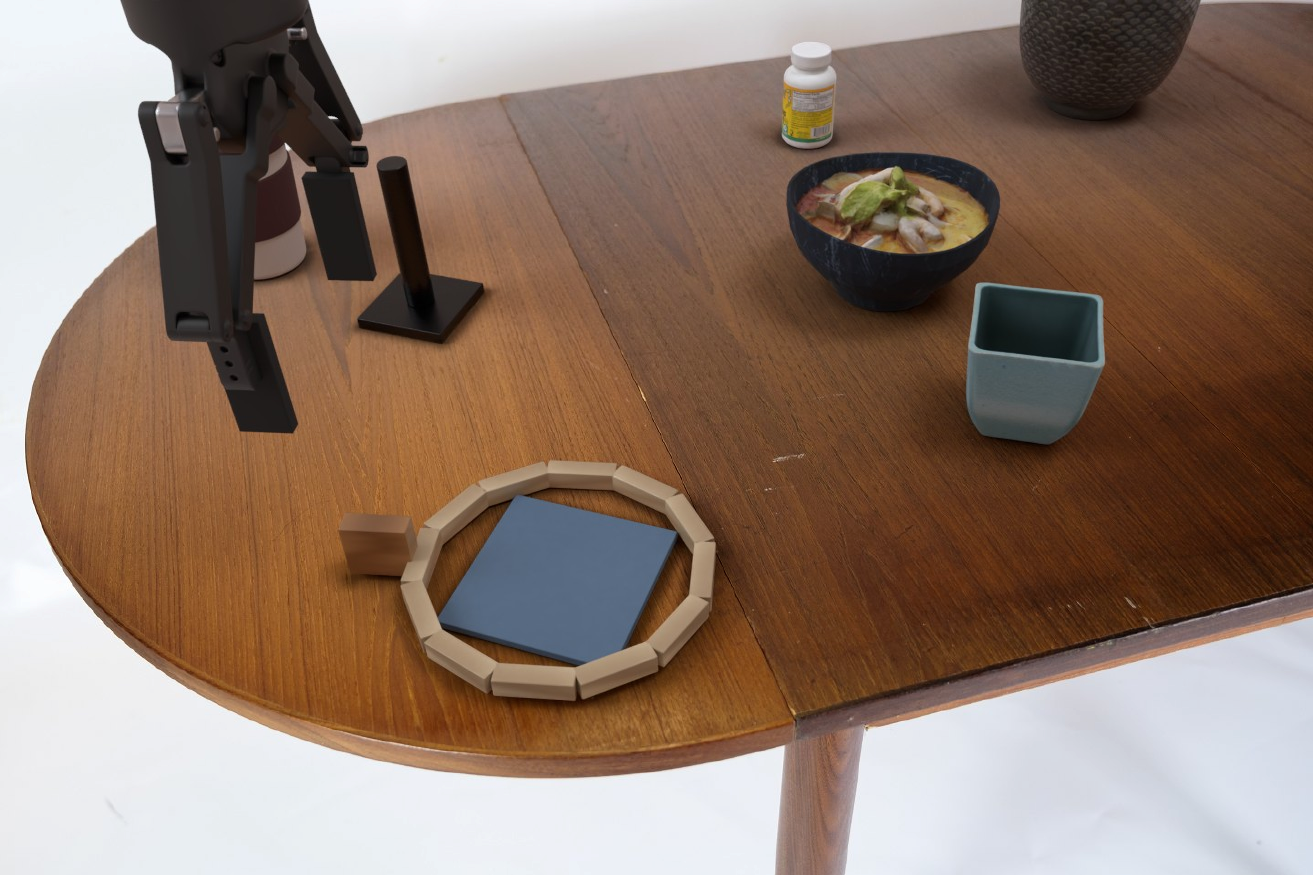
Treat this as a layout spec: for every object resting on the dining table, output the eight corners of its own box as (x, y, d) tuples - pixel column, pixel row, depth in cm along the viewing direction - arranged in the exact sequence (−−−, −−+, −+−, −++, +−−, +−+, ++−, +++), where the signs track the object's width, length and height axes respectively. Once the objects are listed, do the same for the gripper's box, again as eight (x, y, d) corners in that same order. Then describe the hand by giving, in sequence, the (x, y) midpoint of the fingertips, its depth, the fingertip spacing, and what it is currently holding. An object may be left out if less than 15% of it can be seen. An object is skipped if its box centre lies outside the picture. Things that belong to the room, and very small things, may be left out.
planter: (1162, 74, 127) (1201, -75, 117) (1178, 144, 115) (1224, -16, 104) (1004, 66, 131) (1028, -80, 120) (1003, 133, 118) (1030, -23, 108)
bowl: (1018, 324, 93) (1040, 218, 86) (817, 357, 91) (825, 250, 84) (937, 221, 106) (951, 121, 99) (759, 248, 103) (762, 147, 97)
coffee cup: (191, 268, 105) (135, 116, 95) (276, 222, 110) (232, 74, 101) (258, 302, 100) (207, 146, 90) (344, 252, 106) (304, 100, 96)
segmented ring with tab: (303, 684, 67) (287, 639, 65) (394, 467, 83) (385, 424, 80) (703, 709, 65) (703, 664, 63) (722, 482, 80) (722, 438, 78)
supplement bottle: (825, 153, 117) (831, 62, 110) (775, 146, 118) (778, 57, 112) (837, 130, 120) (844, 41, 114) (788, 124, 122) (792, 36, 116)
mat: (613, 675, 68) (612, 669, 68) (436, 626, 71) (435, 620, 71) (678, 537, 76) (677, 531, 76) (517, 499, 80) (516, 493, 79)
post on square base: (442, 344, 94) (411, 194, 85) (358, 328, 96) (320, 180, 87) (484, 292, 100) (460, 146, 91) (405, 278, 102) (373, 134, 93)
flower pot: (959, 376, 88) (976, 279, 82) (1077, 392, 86) (1103, 293, 80) (950, 449, 82) (967, 349, 76) (1077, 468, 80) (1105, 367, 74)
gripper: (152, 44, 37) (304, 511, 51) (371, -151, 56) (439, 228, 69) (-63, 43, 38) (145, 504, 51) (225, -149, 56) (321, 226, 70)
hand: (314, 346), depth 60 cm, fingers open, 13 cm apart
